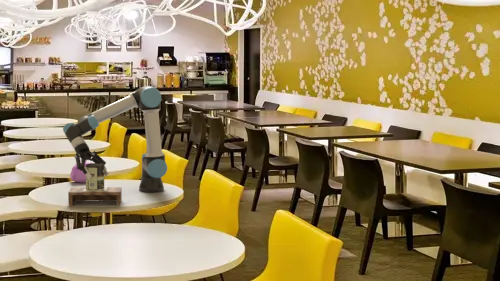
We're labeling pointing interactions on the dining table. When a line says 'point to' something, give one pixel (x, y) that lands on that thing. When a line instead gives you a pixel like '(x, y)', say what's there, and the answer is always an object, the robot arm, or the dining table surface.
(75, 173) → the teapot
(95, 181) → the coffee can
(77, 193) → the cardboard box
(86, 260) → the dining table surface
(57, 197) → the dining table surface
